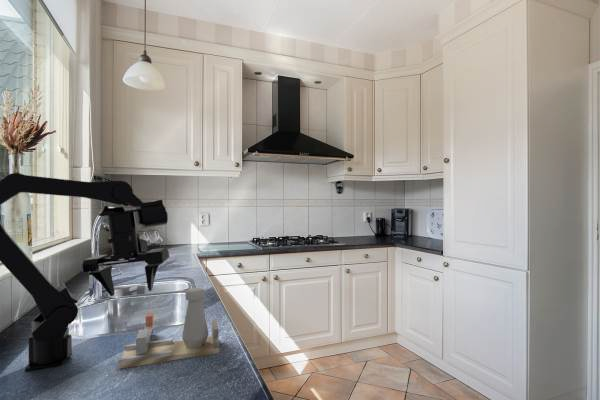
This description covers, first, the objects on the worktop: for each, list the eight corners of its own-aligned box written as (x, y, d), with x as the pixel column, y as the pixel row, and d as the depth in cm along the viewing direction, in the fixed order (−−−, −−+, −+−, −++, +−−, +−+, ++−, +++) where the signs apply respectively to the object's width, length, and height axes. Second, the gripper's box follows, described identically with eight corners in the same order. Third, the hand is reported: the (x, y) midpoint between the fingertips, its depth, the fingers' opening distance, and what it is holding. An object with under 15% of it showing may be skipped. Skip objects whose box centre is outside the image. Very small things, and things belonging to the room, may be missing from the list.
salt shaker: (194, 352, 70) (193, 293, 70) (176, 347, 73) (176, 290, 73) (213, 342, 75) (213, 287, 75) (196, 337, 78) (196, 284, 78)
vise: (118, 368, 65) (118, 342, 65) (125, 353, 72) (125, 329, 72) (218, 352, 72) (218, 329, 72) (216, 339, 79) (216, 318, 79)
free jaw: (135, 358, 67) (135, 338, 67) (146, 330, 82) (146, 313, 82) (146, 357, 68) (146, 336, 68) (154, 329, 83) (154, 312, 83)
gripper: (171, 223, 87) (179, 278, 88) (100, 230, 86) (109, 287, 87) (157, 229, 76) (166, 292, 77) (75, 238, 74) (85, 302, 76)
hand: (131, 293), depth 80 cm, fingers open, 9 cm apart
